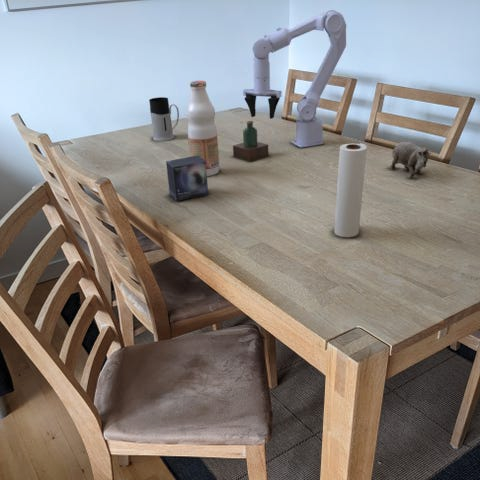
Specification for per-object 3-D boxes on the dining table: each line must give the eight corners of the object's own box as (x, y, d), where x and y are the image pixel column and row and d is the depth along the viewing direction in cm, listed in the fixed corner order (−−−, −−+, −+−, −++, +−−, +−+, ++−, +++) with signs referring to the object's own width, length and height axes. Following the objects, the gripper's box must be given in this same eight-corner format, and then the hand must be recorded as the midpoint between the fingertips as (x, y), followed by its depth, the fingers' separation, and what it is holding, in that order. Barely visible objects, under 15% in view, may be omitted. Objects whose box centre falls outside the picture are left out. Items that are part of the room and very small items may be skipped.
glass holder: (163, 134, 213) (158, 96, 205) (188, 138, 206) (184, 99, 198) (148, 139, 208) (142, 100, 199) (174, 143, 201) (169, 103, 192)
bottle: (254, 142, 183) (253, 119, 178) (259, 145, 179) (259, 122, 174) (241, 144, 181) (240, 121, 177) (246, 147, 177) (245, 124, 173)
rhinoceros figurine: (405, 155, 167) (423, 123, 153) (422, 189, 163) (442, 159, 149) (384, 160, 166) (400, 128, 152) (400, 194, 162) (418, 165, 147)
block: (251, 151, 187) (251, 140, 185) (268, 155, 182) (268, 144, 179) (233, 156, 183) (232, 145, 181) (249, 161, 177) (249, 150, 175)
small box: (176, 202, 149) (172, 166, 143) (169, 195, 153) (164, 161, 148) (209, 194, 152) (206, 160, 146) (200, 188, 157) (197, 154, 151)
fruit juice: (191, 177, 166) (181, 85, 150) (192, 168, 174) (183, 80, 158) (219, 176, 166) (213, 83, 150) (219, 167, 174) (213, 78, 158)
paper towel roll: (342, 240, 123) (349, 151, 111) (329, 230, 128) (334, 145, 115) (367, 233, 125) (376, 146, 113) (353, 225, 130) (361, 140, 118)
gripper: (238, 78, 179) (240, 118, 187) (275, 79, 173) (275, 121, 181) (247, 74, 184) (248, 114, 192) (283, 76, 178) (283, 116, 186)
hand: (262, 117), depth 187 cm, fingers open, 7 cm apart
